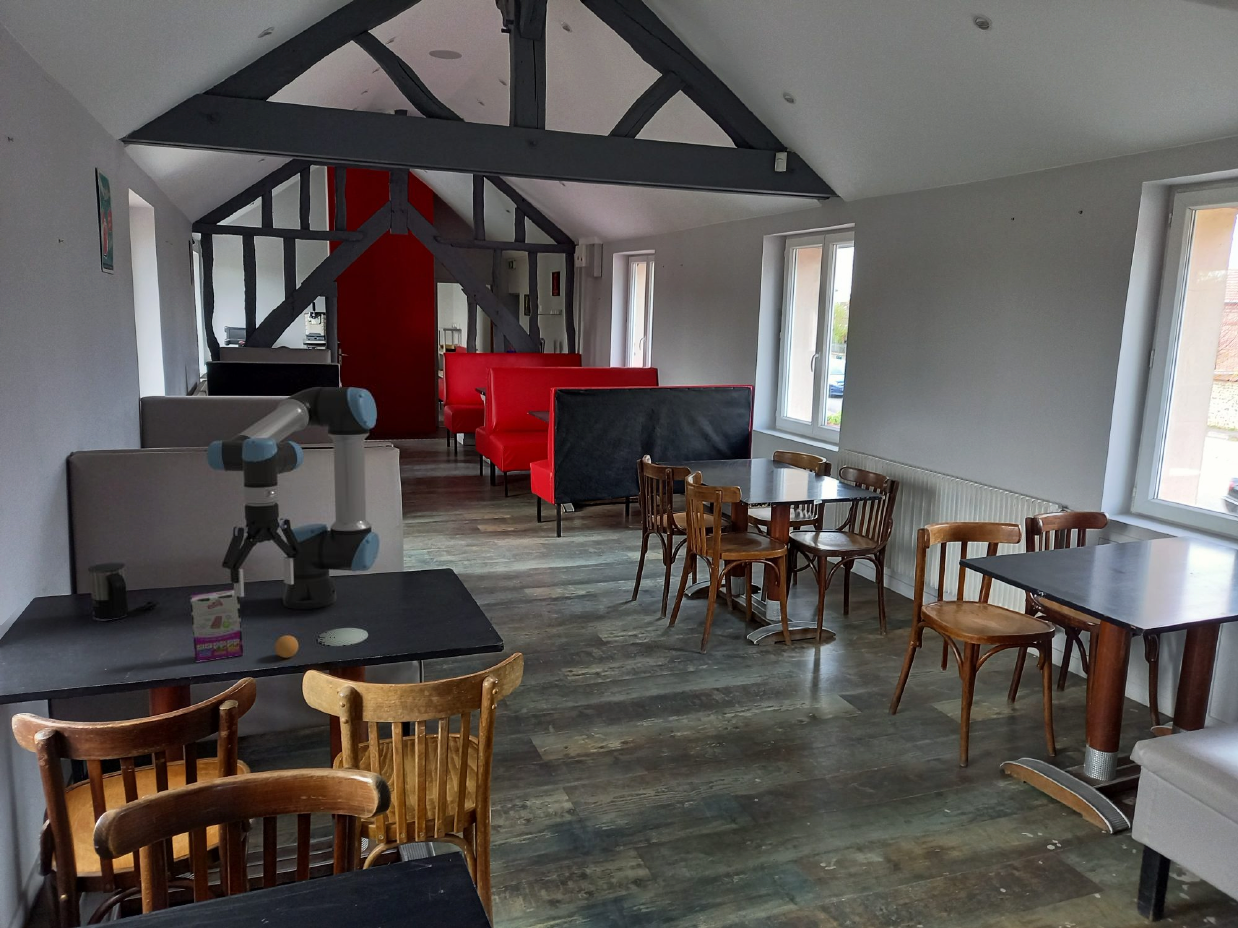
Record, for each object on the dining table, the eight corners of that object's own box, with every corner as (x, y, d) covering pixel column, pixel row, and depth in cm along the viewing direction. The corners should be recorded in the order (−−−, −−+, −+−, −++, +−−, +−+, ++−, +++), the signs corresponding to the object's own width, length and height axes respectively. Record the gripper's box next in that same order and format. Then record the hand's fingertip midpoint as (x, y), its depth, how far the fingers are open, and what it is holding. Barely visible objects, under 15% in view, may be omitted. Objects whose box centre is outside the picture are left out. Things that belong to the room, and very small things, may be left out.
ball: (271, 657, 220) (269, 636, 219) (290, 650, 224) (289, 630, 223) (284, 662, 217) (283, 641, 216) (303, 655, 221) (302, 635, 220)
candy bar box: (242, 649, 225) (238, 588, 222) (243, 656, 221) (239, 594, 218) (194, 656, 220) (189, 594, 217) (194, 663, 216) (190, 600, 213)
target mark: (307, 638, 233) (307, 638, 233) (347, 625, 243) (347, 624, 243) (338, 649, 225) (338, 649, 225) (378, 635, 236) (378, 634, 236)
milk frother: (84, 619, 245) (79, 568, 243) (134, 602, 260) (130, 554, 257) (120, 626, 240) (115, 574, 238) (169, 609, 255) (165, 560, 252)
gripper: (222, 512, 196) (226, 604, 199) (315, 497, 216) (317, 580, 219) (203, 508, 200) (207, 598, 203) (296, 494, 221) (298, 576, 223)
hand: (264, 589), depth 211 cm, fingers open, 13 cm apart
